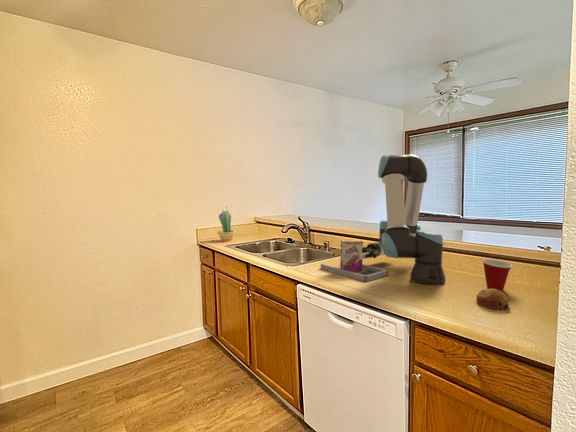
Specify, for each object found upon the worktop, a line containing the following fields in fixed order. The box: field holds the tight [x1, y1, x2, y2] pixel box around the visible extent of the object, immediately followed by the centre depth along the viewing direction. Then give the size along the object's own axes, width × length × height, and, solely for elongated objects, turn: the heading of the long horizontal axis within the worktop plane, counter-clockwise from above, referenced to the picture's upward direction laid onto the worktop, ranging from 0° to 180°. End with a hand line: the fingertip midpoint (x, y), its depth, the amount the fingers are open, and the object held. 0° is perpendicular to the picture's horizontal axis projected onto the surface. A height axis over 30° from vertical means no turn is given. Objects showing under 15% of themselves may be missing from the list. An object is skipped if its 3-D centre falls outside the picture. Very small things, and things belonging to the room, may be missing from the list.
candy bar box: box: [339, 239, 364, 273], centre depth 162 cm, size 11×5×16 cm, turn 84°
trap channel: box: [320, 263, 390, 283], centre depth 162 cm, size 31×18×2 cm, turn 38°
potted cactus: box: [217, 210, 237, 243], centre depth 258 cm, size 15×15×25 cm
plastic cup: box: [482, 258, 513, 292], centre depth 133 cm, size 11×11×12 cm
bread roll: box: [475, 288, 510, 311], centre depth 115 cm, size 10×10×8 cm
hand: (349, 254), depth 162 cm, fingers open, 13 cm apart
